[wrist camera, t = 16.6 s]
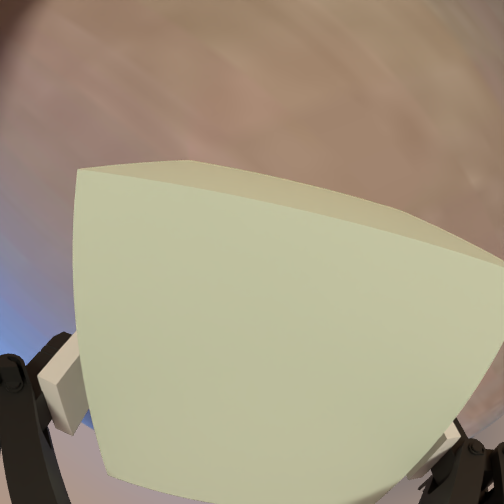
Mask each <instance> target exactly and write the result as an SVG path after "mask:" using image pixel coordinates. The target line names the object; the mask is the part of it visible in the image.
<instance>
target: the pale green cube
mask: <svg viewBox="0 0 504 504" xmlns="http://www.w3.org/2000/svg"><path fill="white" fill-rule="evenodd" d="M73 288H74V305H75V318H76V329H77V338H78V346H79V354H80V361H81V367H82V373H83V379H84V385H85V390H86V395H87V400H88V405H89V409H90V414H91V418H92V422H93V426H94V430H95V434H96V438H97V441H98V445H99V448H100V452H101V455H102V458H103V461H104V464H105V468H106V471H107V474H108V475H109V476H111V477H114V478H117V479H120V480H123V481H126V482H129V483H132V484H135V485H138V486H141V487H145V488H148V489H151V490H155V491H159V492H163V493H166V494H170V495H175V496H179V497H183V498H188V499H193V500H198V501H203V502H209V503H215V504H375V503H376V502H377V501H378V500H380V499H381V498H382V497H383V496H384V495H385V494H386V493H387V492H388V491H390V490H391V489H392V488H393V487H394V486H395V485H396V484H397V483H398V482H399V481H400V480H401V479H402V478H403V477H404V476H405V475H406V474H407V473H408V472H409V471H410V470H411V469H412V468H413V467H414V466H415V465H416V464H417V463H418V462H419V461H420V460H421V459H422V457H423V456H424V455H425V454H426V453H427V452H428V451H429V450H430V449H431V447H432V446H433V445H434V444H435V443H436V442H437V440H438V439H439V438H440V437H441V436H442V434H443V433H444V432H445V431H446V429H447V428H448V427H449V426H450V424H451V423H452V422H453V420H454V419H455V418H456V416H457V415H458V414H459V412H460V411H461V410H462V408H463V407H464V405H465V404H466V403H467V401H468V400H469V398H470V397H471V395H472V394H473V392H474V391H475V389H476V388H477V386H478V385H479V383H480V382H481V380H482V378H483V377H484V375H485V373H486V372H487V370H488V368H489V367H490V365H491V363H492V362H493V360H494V358H495V356H496V355H497V353H498V351H499V349H500V347H501V345H502V343H503V341H504V261H503V260H501V259H499V258H498V257H496V256H494V255H492V254H490V253H488V252H486V251H485V250H483V249H481V248H479V247H477V246H475V245H473V244H471V243H469V242H467V241H465V240H463V239H461V238H459V237H457V236H455V235H453V234H451V233H449V232H447V231H445V230H443V229H441V228H439V227H437V226H435V225H432V224H430V223H428V222H426V221H424V220H422V219H419V218H417V217H415V216H413V215H410V214H408V213H406V212H404V211H401V210H398V209H395V208H392V207H388V206H385V205H382V204H378V203H375V202H372V201H368V200H365V199H361V198H358V197H354V196H350V195H347V194H343V193H339V192H336V191H332V190H328V189H324V188H320V187H316V186H312V185H308V184H304V183H300V182H296V181H291V180H287V179H283V178H278V177H274V176H269V175H265V174H260V173H255V172H250V171H246V170H241V169H236V168H230V167H225V166H220V165H214V164H209V163H203V162H198V161H192V160H177V161H159V162H144V163H131V164H120V165H110V166H100V167H91V168H83V169H78V170H77V180H76V190H75V203H74V220H73Z"/></svg>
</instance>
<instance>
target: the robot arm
mask: <svg viewBox="0 0 504 504" xmlns="http://www.w3.org/2000/svg"><path fill="white" fill-rule="evenodd" d="M88 409H89V405H88V400H87V395H86V390H85V385H84V379H83V373H82V367H81V361H80V354H79V346H78V338H77V331H76V332H75V333H74V334H73V335H71V334H69V333H66V332H62V333H60V334H58V335H56V336H54V337H53V338H52V339H51V340H50V341H49V342H48V343H47V344H46V346H44V347H43V348H42V349H41V352H38V354H37V355H36V356H35V357H34V358H33V359H32V360H31V361H30V362H29V363H28V364H27V366H25V363H24V360H23V359H22V358H21V357H20V356H17V355H15V354H3V355H0V451H1V449H2V455H3V463H4V468H5V475H6V480H7V485H8V489H9V494H10V498H11V502H12V504H71V502H70V499H69V497H68V494H67V491H66V488H65V485H64V482H63V479H62V476H61V473H60V470H59V466H58V463H57V459H56V456H55V453H54V448H53V444H52V440H51V436H50V432H49V429H48V424H49V423H50V421H51V420H53V423H54V425H55V427H56V428H57V429H59V430H61V431H63V432H65V433H67V434H70V435H72V436H73V435H74V433H75V432H76V430H77V428H78V426H79V425H80V423H81V421H82V419H83V418H84V416H85V414H86V413H87V411H88ZM430 469H431V471H432V474H433V475H431V476H430V477H429V479H427V480H426V481H425V482H424V483H423V484H422V485H421V486H420V487H419V488H418V490H420V489H421V488H423V487H424V486H425V489H424V490H423V494H422V497H421V499H420V501H419V504H504V442H502V443H500V444H499V445H498V446H497V447H496V448H495V449H494V450H490V449H485V448H484V445H483V444H482V443H481V442H480V441H478V440H476V439H473V438H470V439H468V437H467V436H466V434H465V432H464V430H463V428H462V427H461V425H460V423H459V421H458V419H457V418H455V419H454V420H453V422H452V423H451V424H450V426H449V427H448V428H447V429H446V431H445V432H444V433H443V434H442V436H441V437H440V438H439V439H438V440H437V442H436V443H435V444H434V445H433V446H432V447H431V449H430V450H429V451H428V452H427V453H426V454H425V455H424V456H423V457H422V459H421V460H420V461H419V462H418V463H417V464H416V465H415V466H414V467H413V468H412V469H411V470H410V471H409V472H408V473H407V474H406V476H407V478H408V480H410V479H416V478H421V477H423V476H424V475H425V474H426V473H427V472H428V471H429V470H430ZM493 482H494V488H493V489H491V490H490V491H489V492H488V486H490V485H491V484H492V483H493Z"/></svg>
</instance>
